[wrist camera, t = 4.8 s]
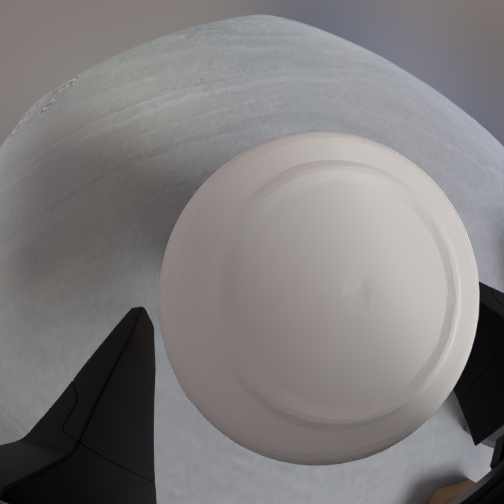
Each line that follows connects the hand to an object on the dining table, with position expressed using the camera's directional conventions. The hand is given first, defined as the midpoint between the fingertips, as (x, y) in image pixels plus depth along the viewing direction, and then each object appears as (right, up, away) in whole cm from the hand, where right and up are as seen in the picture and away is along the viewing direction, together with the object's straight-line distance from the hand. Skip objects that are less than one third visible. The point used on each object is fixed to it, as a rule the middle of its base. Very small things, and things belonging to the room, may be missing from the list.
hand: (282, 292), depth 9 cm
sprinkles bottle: (0, -2, +7) cm, 8 cm away
